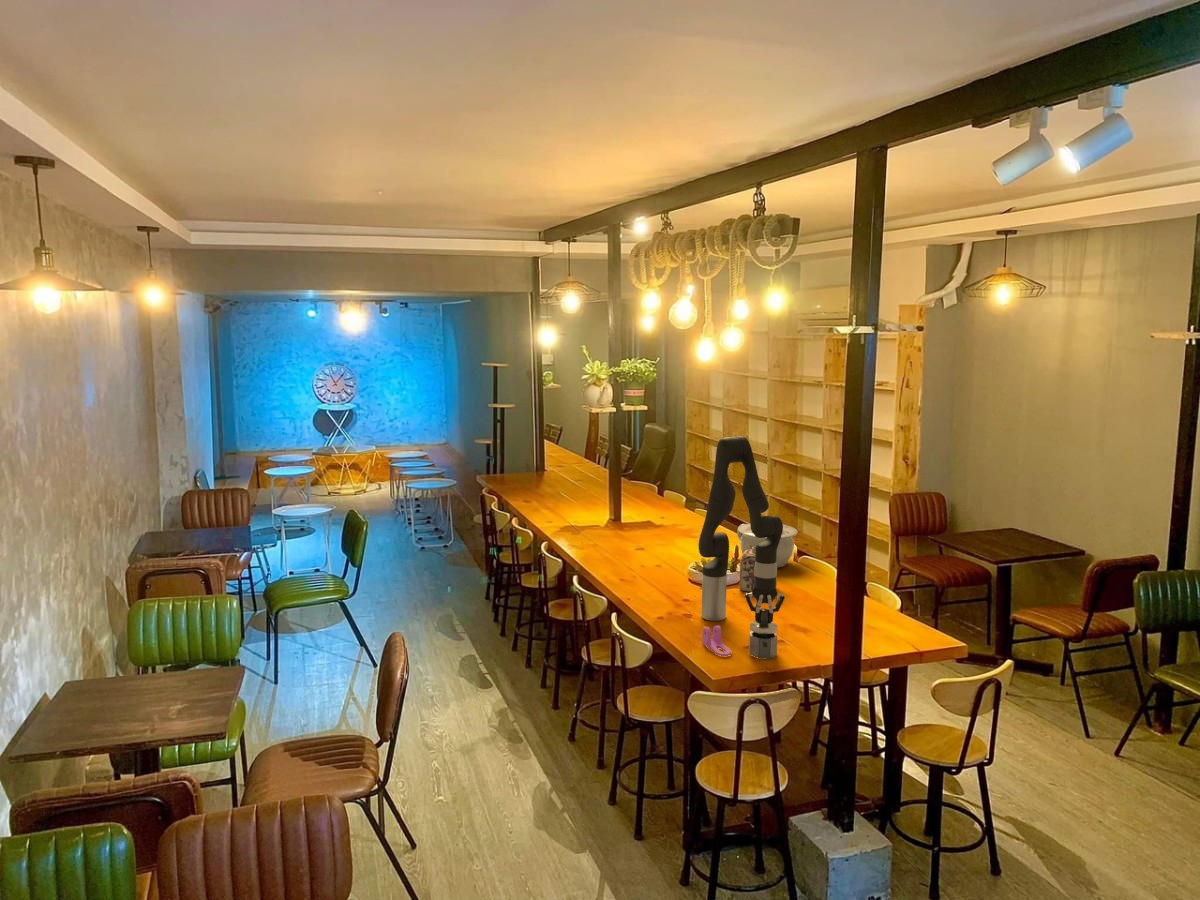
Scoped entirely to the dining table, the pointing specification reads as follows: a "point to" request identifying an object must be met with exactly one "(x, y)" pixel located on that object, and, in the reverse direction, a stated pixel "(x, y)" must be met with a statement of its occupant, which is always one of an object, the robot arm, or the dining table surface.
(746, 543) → the chamber pot
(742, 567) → the decorative jar
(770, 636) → the pot
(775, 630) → the lid
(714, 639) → the bracket
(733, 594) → the dining table surface
